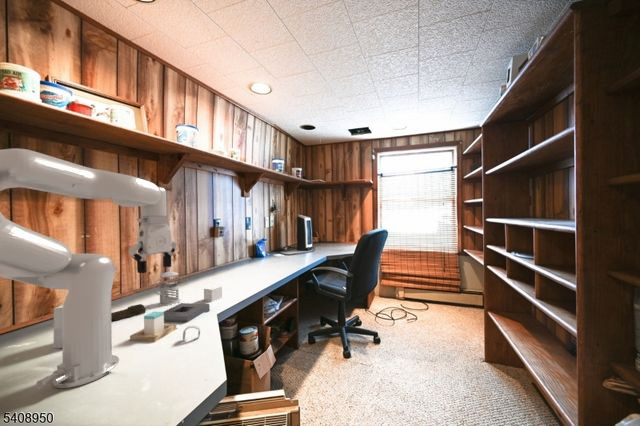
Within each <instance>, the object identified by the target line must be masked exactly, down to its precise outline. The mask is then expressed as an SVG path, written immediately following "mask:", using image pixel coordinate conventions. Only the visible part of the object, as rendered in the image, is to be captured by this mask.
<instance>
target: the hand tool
mask: <svg viewBox="0 0 640 426" xmlns="http://www.w3.org/2000/svg"><path fill="white" fill-rule="evenodd" d="M145 313H146V307H145V306H144V305H143V304H141V303H138V304H135V305H130V306H128V307H127V308H126V309H122V310H118V311H113V312H111V322H113V321H116V320H121V319H124V318H133V317H137V316H140V315H143V314H145Z"/></svg>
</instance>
